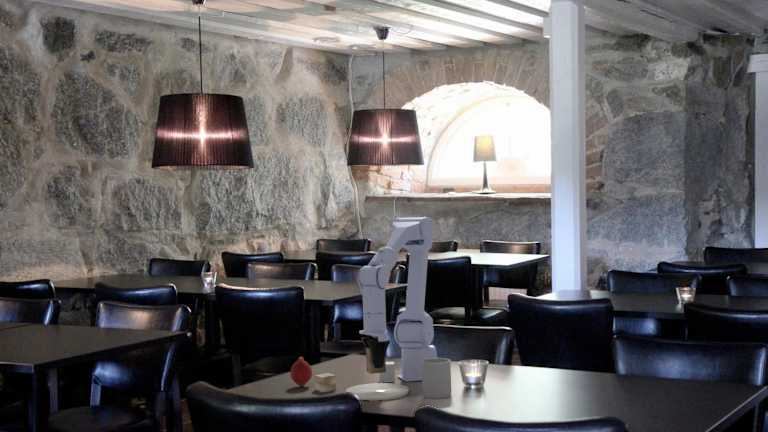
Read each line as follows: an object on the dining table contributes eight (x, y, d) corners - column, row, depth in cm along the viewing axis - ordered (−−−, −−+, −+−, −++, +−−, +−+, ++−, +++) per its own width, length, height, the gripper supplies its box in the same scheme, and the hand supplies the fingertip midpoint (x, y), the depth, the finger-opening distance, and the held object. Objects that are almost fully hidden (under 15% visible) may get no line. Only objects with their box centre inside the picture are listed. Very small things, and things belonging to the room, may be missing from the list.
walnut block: (381, 369, 253) (380, 346, 253) (385, 372, 249) (385, 348, 249) (366, 371, 252) (365, 347, 252) (370, 373, 248) (369, 350, 248)
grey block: (394, 379, 269) (393, 361, 269) (395, 382, 265) (394, 364, 265) (379, 380, 269) (379, 362, 269) (380, 383, 265) (379, 364, 265)
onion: (309, 389, 260) (308, 358, 260) (288, 388, 261) (287, 358, 261) (315, 384, 266) (313, 355, 266) (294, 384, 267) (293, 355, 267)
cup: (417, 398, 244) (416, 362, 244) (436, 390, 253) (435, 355, 253) (443, 400, 241) (441, 364, 240) (461, 392, 249) (460, 357, 249)
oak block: (328, 388, 261) (327, 373, 261) (336, 390, 258) (335, 375, 258) (315, 390, 259) (314, 375, 259) (323, 392, 255) (322, 377, 255)
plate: (398, 385, 260) (398, 381, 260) (416, 397, 245) (416, 392, 245) (339, 391, 256) (339, 386, 256) (354, 403, 241) (354, 398, 241)
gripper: (352, 310, 256) (354, 362, 256) (366, 317, 242) (368, 372, 242) (378, 309, 258) (380, 360, 258) (394, 315, 244) (395, 369, 244)
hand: (376, 366), depth 250 cm, fingers closed on walnut block, 4 cm apart
